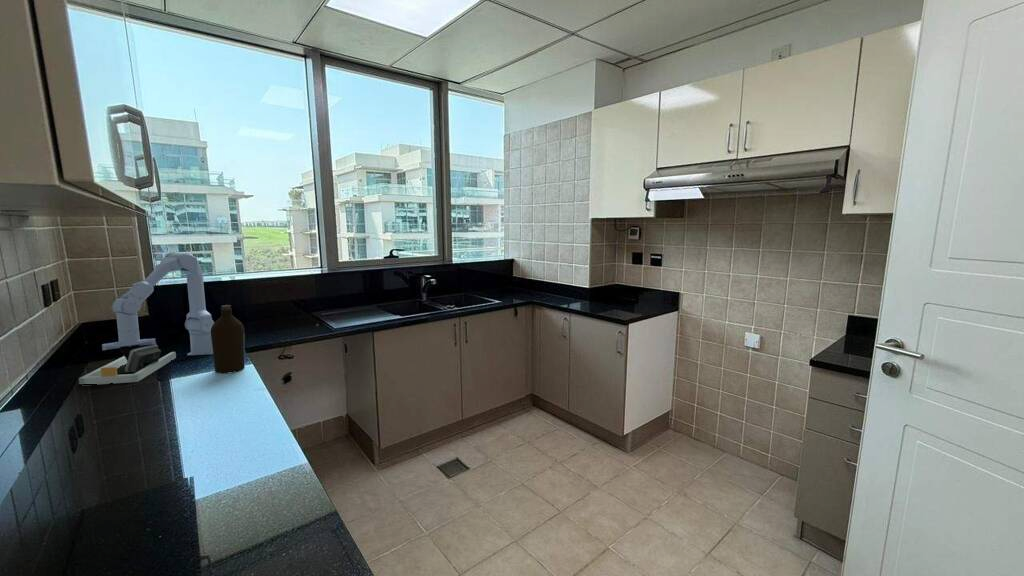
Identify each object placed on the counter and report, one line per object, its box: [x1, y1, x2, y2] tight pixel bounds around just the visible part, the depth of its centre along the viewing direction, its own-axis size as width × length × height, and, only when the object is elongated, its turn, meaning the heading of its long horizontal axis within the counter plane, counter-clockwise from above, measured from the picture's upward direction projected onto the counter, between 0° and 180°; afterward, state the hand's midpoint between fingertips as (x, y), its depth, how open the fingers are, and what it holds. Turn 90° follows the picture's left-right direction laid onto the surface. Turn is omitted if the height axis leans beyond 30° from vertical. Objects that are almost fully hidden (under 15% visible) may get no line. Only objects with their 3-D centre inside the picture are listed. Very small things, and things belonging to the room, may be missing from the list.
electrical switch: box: [124, 343, 162, 374], centre depth 156 cm, size 9×5×9 cm, turn 169°
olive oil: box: [211, 304, 245, 374], centre depth 158 cm, size 11×11×25 cm
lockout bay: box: [78, 351, 177, 385], centre depth 156 cm, size 16×29×6 cm, turn 18°
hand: (131, 365), depth 155 cm, fingers closed
